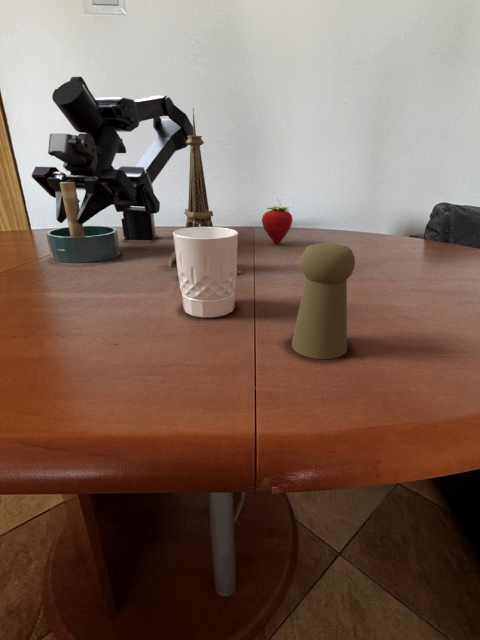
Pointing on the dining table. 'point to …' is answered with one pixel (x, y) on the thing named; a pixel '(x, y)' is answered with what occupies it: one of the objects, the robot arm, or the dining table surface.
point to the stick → (71, 208)
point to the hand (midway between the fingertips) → (68, 222)
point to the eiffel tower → (196, 192)
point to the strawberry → (277, 223)
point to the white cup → (207, 269)
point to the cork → (324, 301)
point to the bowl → (83, 244)
